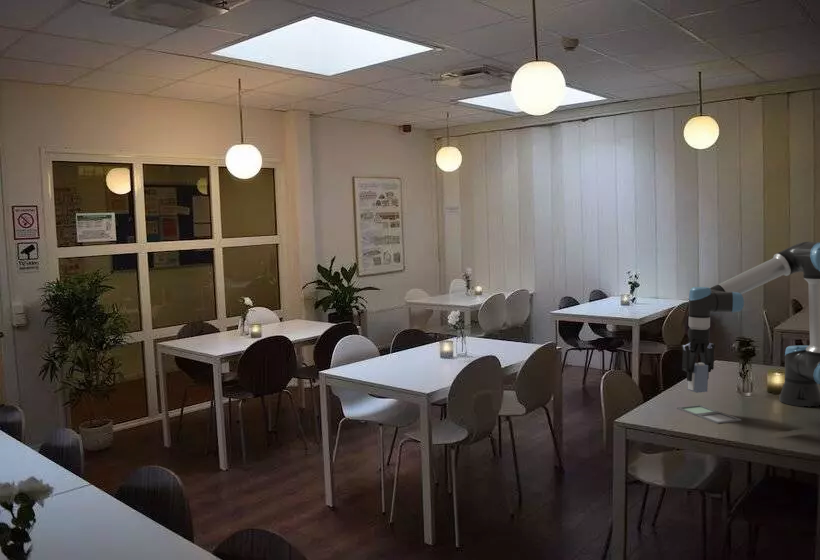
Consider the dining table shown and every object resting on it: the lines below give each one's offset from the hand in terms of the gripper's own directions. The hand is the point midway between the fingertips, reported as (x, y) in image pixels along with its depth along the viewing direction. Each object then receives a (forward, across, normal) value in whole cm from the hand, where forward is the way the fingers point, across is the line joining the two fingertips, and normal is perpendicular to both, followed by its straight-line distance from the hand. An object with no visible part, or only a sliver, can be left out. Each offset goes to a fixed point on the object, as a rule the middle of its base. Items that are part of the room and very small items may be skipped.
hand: (697, 388), depth 260 cm
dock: (+10, 0, +6) cm, 11 cm away
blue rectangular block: (+1, 0, 0) cm, 1 cm away
